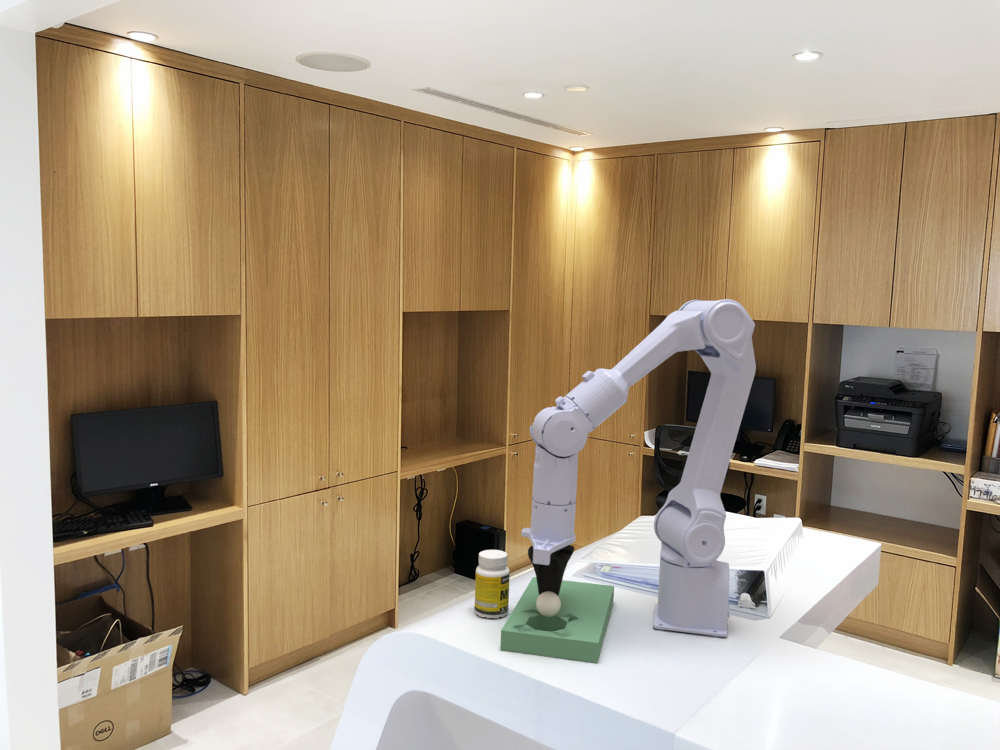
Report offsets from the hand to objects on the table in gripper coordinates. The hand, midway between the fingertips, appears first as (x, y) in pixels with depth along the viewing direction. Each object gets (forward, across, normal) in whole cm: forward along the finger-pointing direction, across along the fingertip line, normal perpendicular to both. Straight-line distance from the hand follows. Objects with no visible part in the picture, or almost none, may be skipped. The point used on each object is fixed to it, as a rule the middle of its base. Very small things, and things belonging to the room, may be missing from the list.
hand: (548, 601), depth 101 cm
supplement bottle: (+4, -3, -8) cm, 10 cm away
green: (+4, -2, +2) cm, 5 cm away
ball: (0, +1, 0) cm, 1 cm away
